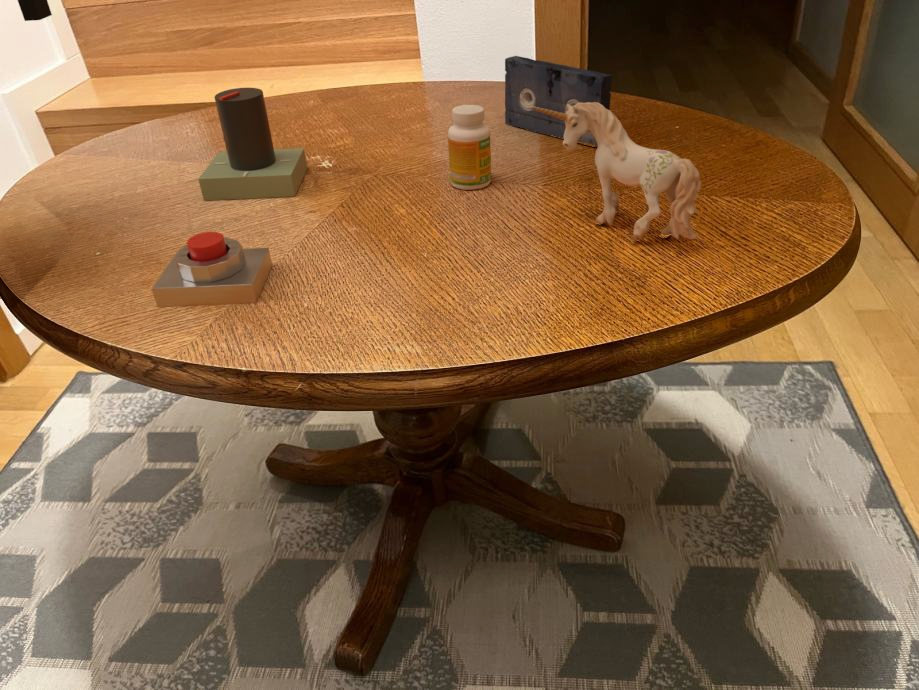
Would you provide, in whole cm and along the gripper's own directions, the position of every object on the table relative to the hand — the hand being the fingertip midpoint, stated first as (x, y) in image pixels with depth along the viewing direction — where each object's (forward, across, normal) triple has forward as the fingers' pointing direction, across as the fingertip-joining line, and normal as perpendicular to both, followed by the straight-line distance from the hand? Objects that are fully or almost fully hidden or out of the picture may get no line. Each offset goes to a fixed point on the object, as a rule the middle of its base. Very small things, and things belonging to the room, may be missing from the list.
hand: (38, 17), depth 74 cm
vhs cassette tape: (+25, +56, +30) cm, 68 cm away
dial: (+21, +14, +15) cm, 30 cm away
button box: (+24, +16, -13) cm, 32 cm away
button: (+21, +16, -13) cm, 29 cm away
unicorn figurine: (+25, +58, -5) cm, 63 cm away
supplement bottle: (+25, +43, +12) cm, 51 cm away
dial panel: (+24, +14, +15) cm, 32 cm away
